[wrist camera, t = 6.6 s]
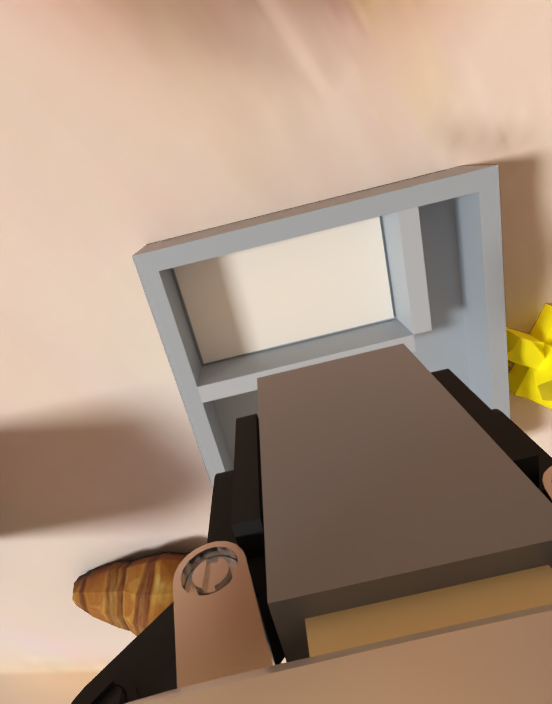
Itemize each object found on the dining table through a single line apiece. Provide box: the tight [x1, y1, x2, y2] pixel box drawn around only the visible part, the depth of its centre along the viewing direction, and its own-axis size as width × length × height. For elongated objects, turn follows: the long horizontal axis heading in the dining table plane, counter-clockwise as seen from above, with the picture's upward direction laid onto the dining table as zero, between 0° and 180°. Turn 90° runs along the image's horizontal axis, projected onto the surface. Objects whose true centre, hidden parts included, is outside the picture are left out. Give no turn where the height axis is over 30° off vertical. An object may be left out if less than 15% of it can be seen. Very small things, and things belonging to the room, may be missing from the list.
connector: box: [257, 343, 552, 662], centre depth 9 cm, size 4×4×8 cm
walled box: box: [132, 165, 510, 486], centre depth 27 cm, size 18×18×4 cm
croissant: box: [73, 552, 188, 636], centre depth 33 cm, size 14×7×5 cm, turn 91°
